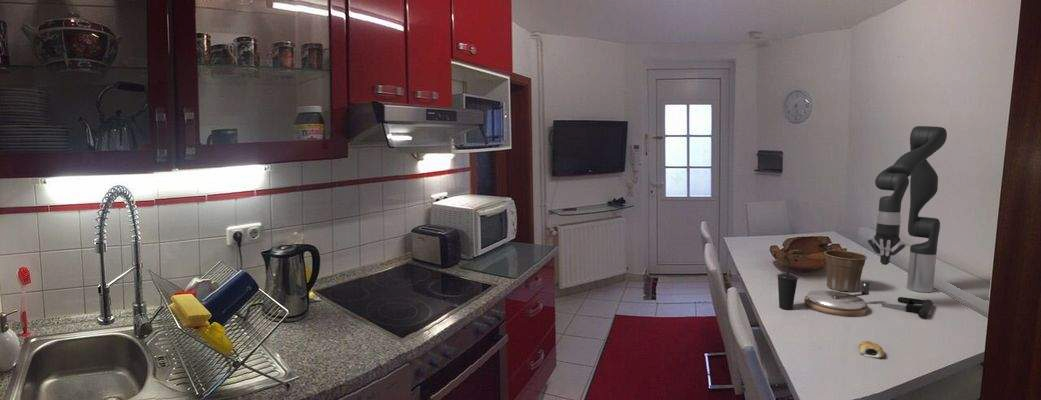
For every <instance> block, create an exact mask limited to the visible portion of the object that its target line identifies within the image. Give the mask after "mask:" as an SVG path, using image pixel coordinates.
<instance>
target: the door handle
mask: <svg viewBox="0 0 1041 400" xmlns="http://www.w3.org/2000/svg"><path fill="white" fill-rule="evenodd" d="M897 302H898V303H900V304H896V303H887V302H882V303H881V307H882V308H886V309H891V310H897V311H903V312H906V313H910V314H915V315H918V317H919V318H920V319H926V318H928V317H929V316H930V317H931V316H932V315H930V314H931V312H932V308H933V307H934V302H933V300H931V299H921V298H911V297H903V296H899V297H897ZM903 304H904V305H903ZM905 304H906V305H905Z"/></svg>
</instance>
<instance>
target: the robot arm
mask: <svg viewBox="0 0 1041 400" xmlns="http://www.w3.org/2000/svg"><path fill="white" fill-rule="evenodd" d="M909 136H910V137H909V150H910V151H907V152H906V153H903V154H902V155H901V156H900V157H899V158H897V160H895V162H894V164H892V165H890V166H888V167H887V168H885V169H883V170H881V172H880V173H878V174H877V176H876V177H875V180H874V184H875V186H876V188H877V189H879V190H881V191H893V192H892V194H890V195H886V196H885V195H884V196H880V198H879V201H878V212H877V216H876V228H875V235H874V236H873V238H871V239H868V240H867V244H869V246H870V247H871V248H872V249H873V251H874V252H875V253H876V254H879V255H880V259H879V260H880V261H879V262H880V264H881V265H884V266H887V265H889V264H890V262H891V256H895V255H897V254H899V252H902V250H903V249H905V248H906V247H907V244H906V243H904V242H902V241H901V238H900V230H901V222H902V221H901V220H902V218H901V217H902V216H901V210H902V209H901V208H902V201H903V199H904V196H905V193H906V192H907V189H908V187H910V188H909V194H910V195H909V202H910V203H909V211H908V213H909V214H908V223H907V233H908V236H910V237H914V238H915V237H916V238H921V239H922V238H923V239H927V240H926V241H924V242H921V243H920V242H919V243H914V244H911V245H910V246H909V256H908V257H909V260H908V268H907V278H906V281H907V282H906V289H908V290H910V291H914V292H917V293H918V292H919V293H933V292H934V284H935V283H934V282H935V275H936V273H935V272H936V264H937V250H938V241H939V235H940V230H941V221H940V219H939V218H935V217H926V216H919V215H920V212H921V210H923V208H924V207H925V205H926V204H927V203H928V202H929V201H930V200H932V199H933V198H934V196H935V195H936V194H937V192H938V190H939V189H938V188H939V187H938V185H939V177H938V174H937V172H936V170H935V169H934V168H933V166H932V165H931V164H930V162H929V161H928V160H927V159H928V158H930V157H931V156H932V155H934V154H935V153H936V152H938V151H939V150H940V149H941V148H942V147H943V146H944V145H945V143H946V141H947V137H948V131H947V130H946V128H944V127H942V126H933V125H932V126H931V125H930V126H928V125H917V126H914V127H913V128H912V130H911V132H910V135H909ZM909 177H910V178H909ZM895 246H896V249H894V250H893V248H894V247H895Z"/></svg>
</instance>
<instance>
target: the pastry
mask: <svg viewBox="0 0 1041 400" xmlns="http://www.w3.org/2000/svg"><path fill="white" fill-rule="evenodd" d="M858 353H859V355H860V356H862V357H866V358H875V359H882V358H884V356H885V351H884V349H883V348H882V347H881V345H879V344H877V343H875V342H871V340H870V341H869V340H866V341H861V342H860V343H859V344H858Z"/></svg>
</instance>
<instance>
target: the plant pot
mask: <svg viewBox="0 0 1041 400" xmlns="http://www.w3.org/2000/svg"><path fill="white" fill-rule="evenodd" d="M824 256H825V262H826V286H827V288H829V289H831V290H832V291H836V292H847V293H856V292H858V291H859V288H860V283H861V278H862V273H863V269H864V266H865V263H866V260H867V259H868V256H866V255H865V254H862V253H859V252H854V251H849V250H836V249H835V250H832V249H831V250H826V251H824Z"/></svg>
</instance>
